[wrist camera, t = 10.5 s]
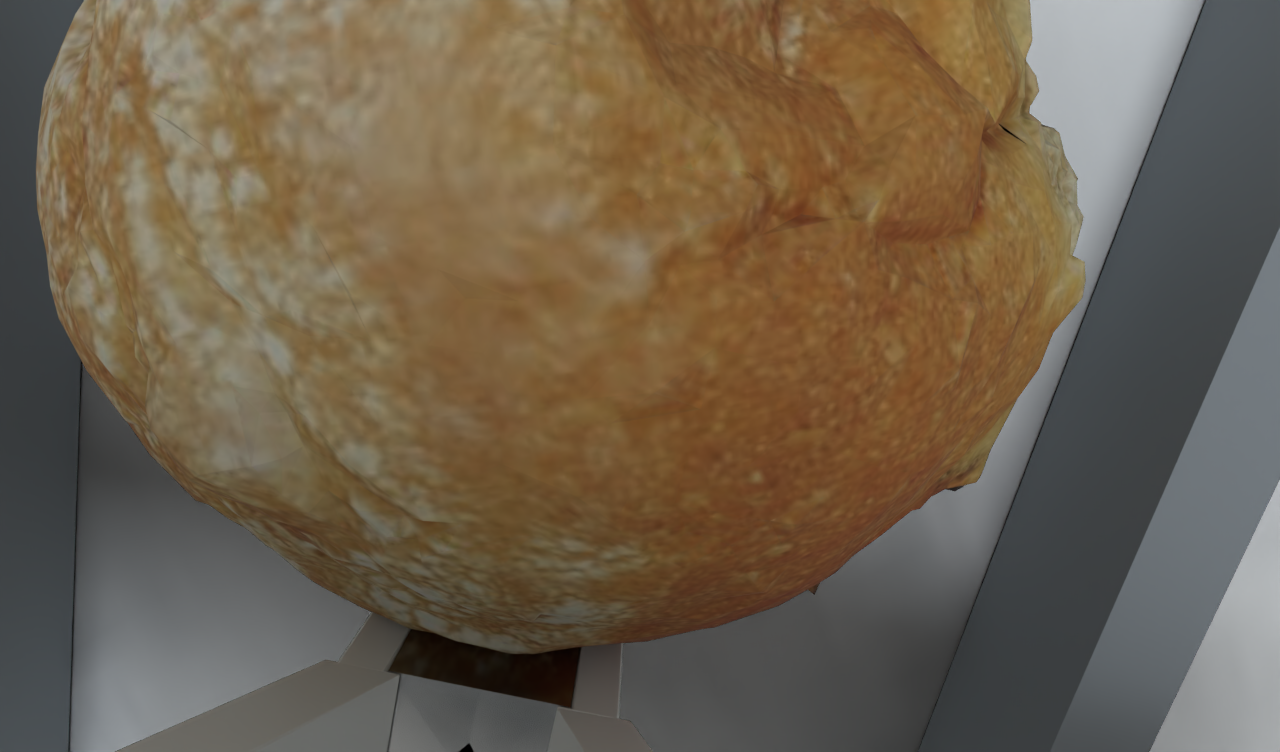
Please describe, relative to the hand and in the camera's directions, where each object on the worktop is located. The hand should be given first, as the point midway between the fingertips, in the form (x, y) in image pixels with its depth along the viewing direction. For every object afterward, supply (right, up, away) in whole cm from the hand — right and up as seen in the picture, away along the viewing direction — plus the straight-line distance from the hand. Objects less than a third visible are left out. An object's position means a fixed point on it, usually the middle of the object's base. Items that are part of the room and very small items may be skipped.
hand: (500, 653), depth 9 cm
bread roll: (+1, +6, +1) cm, 6 cm away
